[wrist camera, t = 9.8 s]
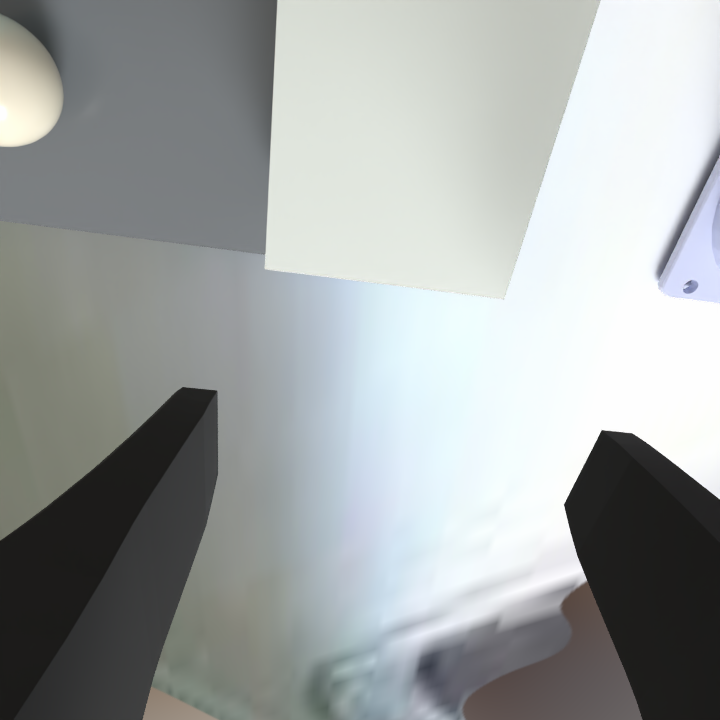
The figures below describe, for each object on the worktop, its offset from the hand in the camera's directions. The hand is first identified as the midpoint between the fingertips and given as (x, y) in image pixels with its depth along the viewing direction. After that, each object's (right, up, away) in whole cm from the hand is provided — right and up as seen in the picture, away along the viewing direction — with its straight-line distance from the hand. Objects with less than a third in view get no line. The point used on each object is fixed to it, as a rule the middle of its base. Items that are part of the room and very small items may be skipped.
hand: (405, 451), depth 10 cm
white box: (0, +10, +4) cm, 11 cm away
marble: (-10, +9, +4) cm, 14 cm away
